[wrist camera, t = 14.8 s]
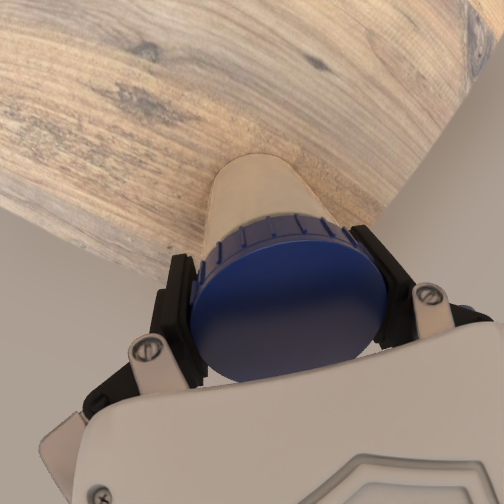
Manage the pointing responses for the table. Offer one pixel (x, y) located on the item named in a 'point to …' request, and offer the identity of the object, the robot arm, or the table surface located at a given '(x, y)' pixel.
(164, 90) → the table surface
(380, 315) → the lid
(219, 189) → the jar
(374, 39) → the table surface
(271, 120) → the table surface
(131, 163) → the table surface
